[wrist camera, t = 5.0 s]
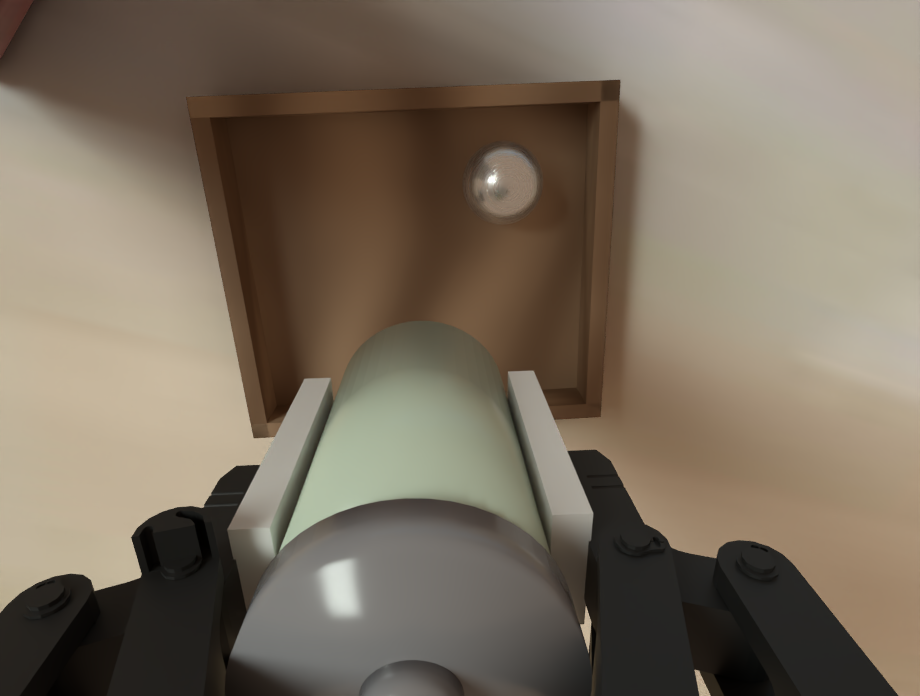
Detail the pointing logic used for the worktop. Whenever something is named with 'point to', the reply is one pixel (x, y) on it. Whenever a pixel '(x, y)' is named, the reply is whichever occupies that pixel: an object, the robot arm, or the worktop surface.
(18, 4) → the bottle
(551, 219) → the tray
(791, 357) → the worktop surface
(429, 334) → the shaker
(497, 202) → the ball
